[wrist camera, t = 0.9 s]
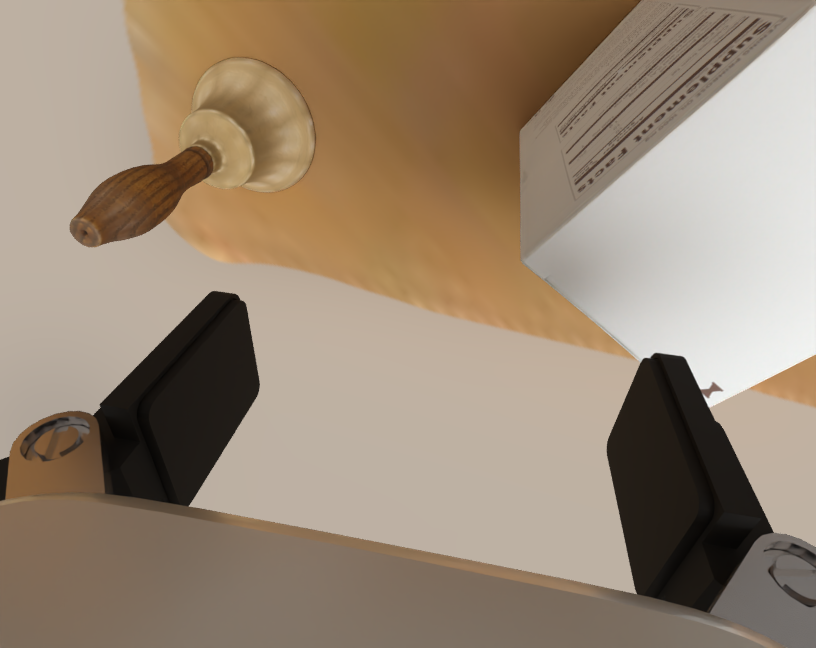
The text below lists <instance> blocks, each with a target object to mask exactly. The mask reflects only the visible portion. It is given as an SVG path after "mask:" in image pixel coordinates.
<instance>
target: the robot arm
mask: <svg viewBox="0 0 816 648" xmlns="http://www.w3.org/2000/svg"><path fill="white" fill-rule="evenodd" d="M259 386H260V383H259V376H258V371H257V365H256V359H255V354H254V347H253V342H252V336H251V331H250V324H249V319H248V312H247V307H246V304H245V302H244V301H240V298H239V296H238V295H236V294H232V293H225V292H218V291H212V292H211V293H209V294H208V295H207V296H206V297H205V298H204V299H203V300H202V301H201V302H200V303H199V304H198V305H197V306H196V307H195V308H194V309H193V310H192V311H191V313H189V314H188V316H186V318H185V319H183V321H182V322H181V323H180V324H179V325H178V326H177V327H176V328H175V329H174V330H173V331H172V332H171V333H170V334H169V335H168V336H167V337H166V338H165V339H164V340H163V341H162V342H161V343H160V344H159V345H158V346H157V347H156V348H155V349H154V350H153V351H152V352H151V353H150V354H149V355H148V356H147V357H146V358H145V359H144V360H143V361H142V362H141V363H140V364H139V365H138V366H137V367H136V368H135V369H134V370H133V371H132V372H131V373H130V374H129V375H128V376H127V377H126V378H125V379H124V380H123V381H122V382H121V383H120V385H118V386H117V387H116V388H115V389H114V390H113V391H112V392H111V394H109V396H108V397H107V398H106V399H105V400H104V401H103V402H102V403H101V404H100V407H101V408H100V409H99V410H98V411H97V412H96V413H95V414H94V415H93V416H92V415H91V414H89V413H86V412H82V411H67V412H63V413H57V414H54V415H51V416H48V417H46V418H43V419H41V420H39V421H38V422H36V423H34V424H32V425H31V426H29V427H28V428H27V429H25V430H24V431H23V432H22V433H21V434H20V435H19V436H18V438H16V440H15V441H14V442H13V444H12V447H11V450H10V456H9V457H7V458H4V459H1V460H0V648H816V547H814V546H813V545H811V544H809V543H807V542H805V541H803V540H801V539H799V538H796V537H793V536H790V535H787V534H778V533H774V532H773V530H772V528H771V526H770V524H769V522H768V520H767V518H766V516H765V513H764V511H763V509H762V507H761V506H760V503H759V501H758V499H757V497H756V495H755V493H754V491H753V489H752V487H751V485H750V483H749V481H748V478H747V477H746V474H745V472H744V470H743V468H742V466H741V464H740V462H739V460H738V458H737V456H736V454H735V452H734V450H733V448H732V445H731V444H730V442H729V439H728V437H727V435H726V433H725V431H724V429H723V428H722V426H721V425H720V424H719V423H718V422H716V421H715V420H714V417H713V415H712V413H711V411H710V409H709V407H708V405H707V403H706V400H705V398H704V396H703V394H702V392H701V390H700V388H699V386H698V384H697V382H696V379H695V377H694V375H693V373H692V371H691V369H690V367H689V365H688V363H687V360H686V359H685V358H684V357H683V356H677V355H670V354H663V353H654V354H653V355H652V356H651V358H644V359H643V360H642V361H641V363H640V366H639V368H638V370H637V373H636V375H635V377H634V380H633V382H632V384H631V387H630V389H629V391H628V394H627V396H626V398H625V401H624V403H623V406H622V408H621V410H620V412H619V415H618V417H617V420H616V422H615V424H614V427H613V429H612V431H611V434H610V436H609V439H608V442H607V456H608V461H609V466H610V471H611V476H612V481H613V485H614V490H615V495H616V500H617V505H618V509H619V514H620V519H621V524H622V528H623V533H624V538H625V543H626V547H627V552H628V557H629V562H630V566H631V572H632V576H633V581H634V586H635V590H636V592H637V594H632V593H627V592H623V591H619V590H614V589H609V588H604V587H600V586H595V585H591V584H586V583H581V582H577V581H572V580H567V579H562V578H557V577H552V576H547V575H542V574H537V573H532V572H527V571H522V570H517V569H512V568H507V567H502V566H497V565H492V564H487V563H482V562H476V561H472V560H467V559H461V558H457V557H452V556H446V555H441V554H436V553H431V552H425V551H421V550H415V549H410V548H405V547H400V546H395V545H390V544H385V543H379V542H374V541H369V540H364V539H359V538H353V537H348V536H343V535H338V534H332V533H328V532H322V531H317V530H312V529H307V528H301V527H296V526H290V525H285V524H280V523H275V522H270V521H264V520H259V519H254V518H248V517H242V516H238V515H232V514H227V513H221V512H216V511H211V510H205V509H200V508H193V507H188V506H189V505H190V503H191V502H192V500H193V499H194V497H195V496H196V494H197V492H198V491H199V489H200V487H201V486H202V484H203V483H204V481H205V479H206V478H207V476H208V475H209V473H210V471H211V470H212V468H213V467H214V465H215V463H216V462H217V460H218V458H219V457H220V455H221V454H222V452H223V450H224V449H225V447H226V446H227V444H228V442H229V441H230V439H231V438H232V436H233V434H234V433H235V431H236V429H237V428H238V426H239V425H240V423H241V421H242V419H243V418H244V417H245V415H246V413H247V412H248V410H249V408H250V407H251V405H252V403H253V402H254V400H255V399H256V397H257V395H258V392H259Z"/></svg>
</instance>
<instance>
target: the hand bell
mask: <svg viewBox="0 0 816 648" xmlns="http://www.w3.org/2000/svg"><path fill="white" fill-rule="evenodd" d="M315 139H316V138H315V130H314V124H313V120H312V117H311V114H310V111H309V109H308V106H307V104H306V102H305V100H304V98H303V97H302V95H301V94H300V92H299V91H298V90H297V88H296V87H295V86H294V85H293V83H292V82H291V81H290V80H289V79H287V78H286V77H285V76H284V75H283V74H282V73H280V72H279V71H278V70H276V69H275V68H273V67H271V66H270V65H268V64H265V63H263V62H261V61H258V60H254V59H250V58H241V57H236V58H229V59H226V60H223V61H220V62H218V63H216V64H215V65H213V66H212V67H210V68H209V69H208V70H207V71H206V72H205V73H204V74H203V76H202V77H201V79H200V80H199V82H198V84H197V86H196V89H195V92H194V96H193V100H192V113H191V114H189V115H188V116H187V117H186V119H185V120H184V122H183V123H182V126H181V128H180V132H179V146H180V150H181V153H180V154H178V155H176V156H175V157H173V158H172V159H170V160H169V161H167V162H165V163H163V164H156V165H142V166H138V167H133V168H131V169H127V170H125V171H122V172H120V173H118V174H116V175H114V176H112V177H110V178H108V179H107V180H105V181H104V182H102V183H101V184H100V185H99V186H98V187H97V188H96V189H95V190H94V191H93V192H92V193H91V195H90V196H89V198H88V199H87V201H86V202H85V204H84V205H83V207H82V209H81V210H80V211H79V213H78V214H77V215H76V216H75V217H74V218H73V219H72V220H71V223H70V232H71V234H72V235H73V237H74V238H75V239H76V240H77V241H78V242H80V243H81V244H82V245H84V246H87V247H97V246H100V245H102V244H106V243H109V242H113V241H121V240H125V239H130V238H133V237H136V236H140V235H142V234H144V233H146V232H148V231H150V230H151V229H153V228H154V227H156V226H157V225H158V224H160V223H161V222H162V221H163V220H165V219H166V218H167V217H168V216H169V215H170V214H171V212H172V211H173V210H174V209H175V207H176V206H177V204H178V202H179V200H180V198H181V196H182V194H183V193H184V192H185V191H186V190H187V189H188V188H190V187H192V186H194V185H196V184H197V183H199V182H201V181H203V182H205V183H206V184H208V185H211V186H213V187H216V188H220V189H233V188H237V187H240V186H241V187H243V188H246V189H249V190H253V191H257V192H277V191H281V190H284V189H287V188H289V187H291V186H292V185H294V184H295V183H297V182H298V181H299V180H300V179H301V178H302V177H303V176H304V175H305V173H306V172H307V170H308V168H309V166H310V164H311V161H312V158H313V155H314V150H315Z"/></svg>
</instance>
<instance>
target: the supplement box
mask: <svg viewBox="0 0 816 648" xmlns="http://www.w3.org/2000/svg"><path fill="white" fill-rule="evenodd" d="M519 137H520V138H519V139H520V213H521V220H520V246H521V262H522V263H523V264H524V265H525V266H526V267H528V268H529V269H530V270H531V271H533V272H534V273H535V274H536V275H538V276H539V277H540V278H541V279H543V280H544V281H545V282H547V283H548V284H549V285H550V286H551V287H552V288H554V289H555V290H556V291H557V292H558V293H560V294H561V295H562V296H563V297H565V298H566V299H567V300H568V301H569V302H571V303H572V304H573V305H574V306H575V307H577V308H578V309H579V310H580V311H581V312H582V313H584V314H585V315H586V316H587V317H589V318H590V319H591V320H592V321H593V322H595V323H596V324H597V325H598V326H599V327H600V328H602V329H603V330H604V331H605V332H606V333H607V334H609V335H610V336H611V337H612V338H613V339H614V340H615V341H617V342H618V343H619V344H620V345H621V346H622V347H624V348H625V349H626V350H627V351H628V352H629V353H630V354H631V355H633V356H634V357H635V358H636V359H637V360H638V361H639V362H640V363H641V361H642V360H643V359H644V358H651V356H652V355H653V354H654V353H663V354H670V355H677V356H683V357H684V358H685V359H686V360H687V363H688V365H689V367H690V369H691V371H692V373H693V375H694V377H695V379H696V382H697V384H698V386H699V388H700V390H701V392H702V394H703V396H704V398H705V400H706V403H707V405H708V407H709V408H710V407H712V406H714V405H715V404H718V403H720V402H722V401H724V400H726V399H728V398H730V397H732V396H734V395H736V394H738V393H740V392H742V391H744V390H746V389H748V388H750V387H752V386H754V385H756V384H758V383H760V382H762V381H764V380H766V379H768V378H770V377H772V376H774V375H776V374H778V373H780V372H782V371H784V370H786V369H788V368H790V367H792V366H794V365H796V364H798V363H800V362H801V361H803V360H805V359H807V358H809V357H811V356H813V355H815V354H816V0H642V1H641V2H640V3H639V4H638V5H637V6H636V7H635V8H634V9H633V10H632V11H631V12H630V13H629V14H628V15H627V16H626V17H625V18H624V19H623V20H622V21H621V23H620V24H619V25H618V26H617V27H616V28H615V29H614V30H613V31H612V32H611V33H610V34H609V35H608V37H607V38H606V39H605V40H604V41H603V42H602V43H601V44H600V45H599V46H598V47H597V48H596V49H595V51H594V52H593V53H592V54H591V55H590V56H589V57H588V58H587V59H586V60H585V61H584V62H583V63H582V64H581V66H580V67H579V68H578V69H577V70H576V71H575V72H574V73H573V74H572V75H571V76H570V77H569V78H568V80H567V81H566V82H565V83H564V84H563V85H562V86H561V87H560V88H559V89H558V90H557V91H556V92H555V93H554V95H553V96H552V97H551V98H550V99H549V100H548V101H547V102H546V103H545V104H544V105H543V106H542V107H541V109H540V110H539V111H538V112H537V113H536V114H535V115H534V116H533V117H532V118H531V119H530V120H529V121H528V123H527V124H526V125H525V126H524V127H523V128H522V129H521V130H520V136H519Z"/></svg>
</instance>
